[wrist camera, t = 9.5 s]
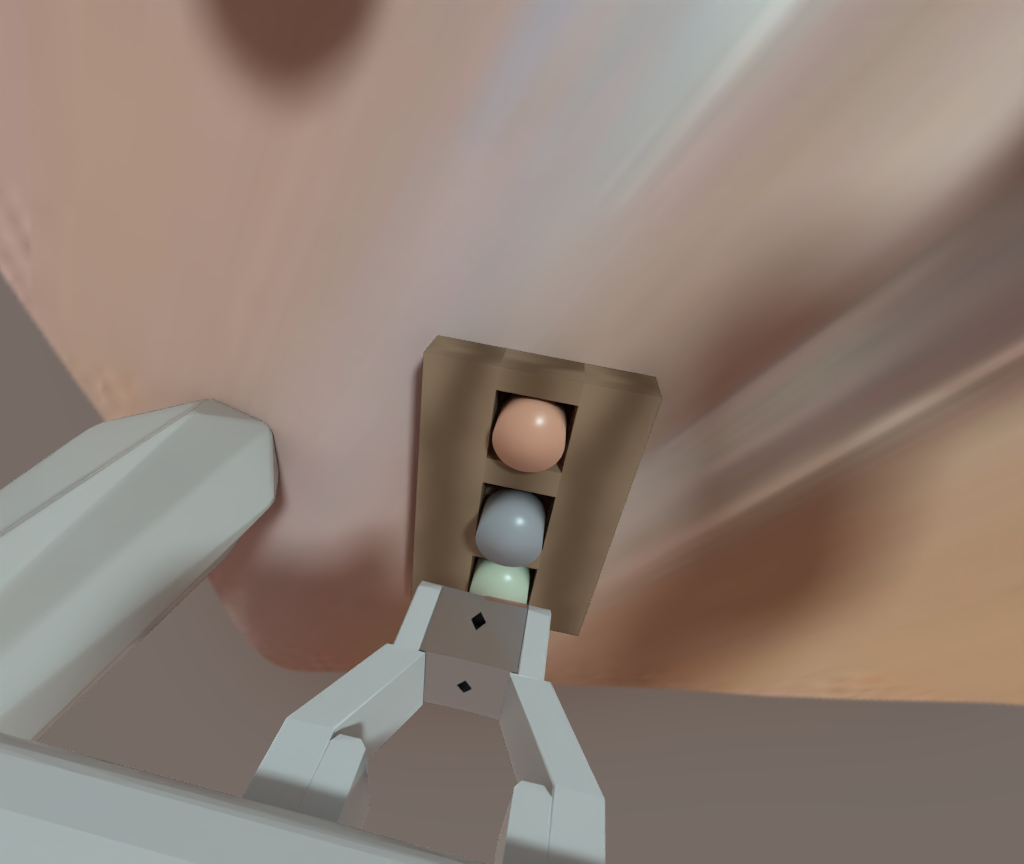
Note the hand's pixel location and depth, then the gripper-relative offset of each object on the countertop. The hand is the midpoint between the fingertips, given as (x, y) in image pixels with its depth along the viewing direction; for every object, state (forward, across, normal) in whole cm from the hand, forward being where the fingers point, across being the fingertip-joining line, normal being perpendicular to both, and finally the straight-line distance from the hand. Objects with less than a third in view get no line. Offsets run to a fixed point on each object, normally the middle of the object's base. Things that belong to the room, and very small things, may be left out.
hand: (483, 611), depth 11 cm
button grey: (+18, +1, +13) cm, 23 cm away
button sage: (+20, +1, +20) cm, 28 cm away
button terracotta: (+20, 0, +6) cm, 21 cm away
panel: (+21, +1, +13) cm, 25 cm away
